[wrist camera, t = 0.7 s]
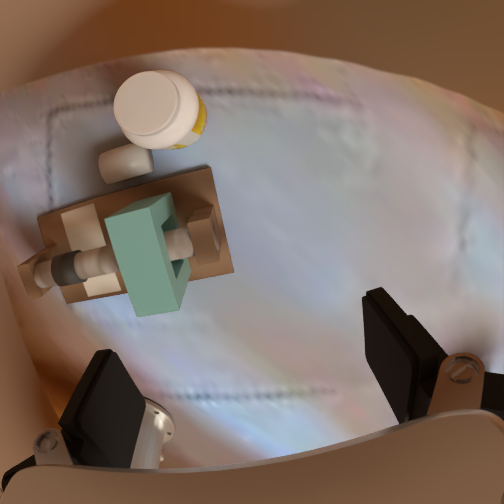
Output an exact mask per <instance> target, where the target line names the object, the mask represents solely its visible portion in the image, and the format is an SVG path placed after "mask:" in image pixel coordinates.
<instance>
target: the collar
mask: <svg viewBox="0 0 504 504" xmlns="http://www.w3.org/2000/svg"><path fill="white" fill-rule="evenodd" d="M104 220H105V223H106V227H107V230H108V234H109V237H110V240H111V244H112V247H113V250H114V253H115V256H116V260H117V263H118V266H119V269H120V272H121V275H122V277H123V280H124V283H125V286H126V289H127V292H128V294H129V297H130V300H131V303H132V305H133V308H134V310H135V313H136V316H137V317H142V316H148V315H155V314H161V313H167V312H172V311H178V310H179V309H180V306H181V303H182V300H183V296H184V293H185V290H186V287H187V283H188V280H189V277H190V274H191V268H190V264H189V261H188V257H187V258H182V259H177V260H173V261H171V260H170V257H169V253H168V250H167V246H166V242H165V239H164V235H163V232H165V231H169V230H174V229H178V228H180V226H179V222H178V218H177V214H176V210H175V206H174V202H173V198H172V194H171V192H168V193H164V194H160V195H156V196H153V197H149V198H145V199H141V200H137V201H135V202H133V203H131V204H130V205H128V206H126V207H124V208H122V209H121V210H119V211H117V212H115V213H114V214H112V215H110V216H109V217H107V218H105V219H104Z"/></svg>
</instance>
